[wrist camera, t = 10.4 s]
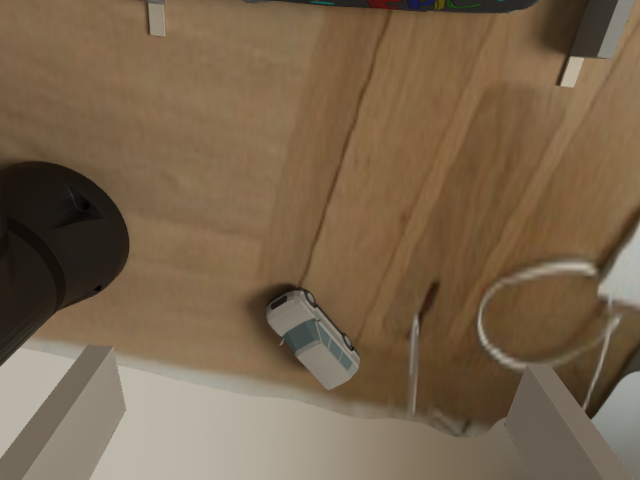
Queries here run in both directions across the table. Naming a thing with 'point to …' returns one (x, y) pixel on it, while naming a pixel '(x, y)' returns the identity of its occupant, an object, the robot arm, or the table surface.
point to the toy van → (426, 5)
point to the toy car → (313, 337)
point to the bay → (591, 42)
